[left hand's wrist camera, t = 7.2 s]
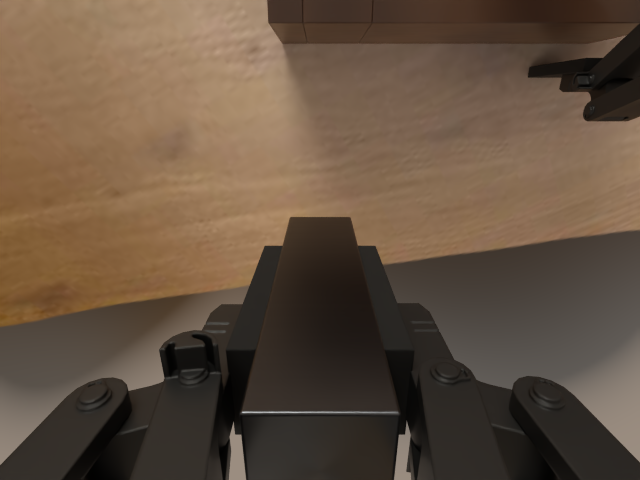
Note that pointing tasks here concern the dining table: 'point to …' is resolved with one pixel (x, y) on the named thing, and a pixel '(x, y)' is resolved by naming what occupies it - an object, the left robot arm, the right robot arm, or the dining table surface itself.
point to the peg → (320, 367)
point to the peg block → (452, 21)
